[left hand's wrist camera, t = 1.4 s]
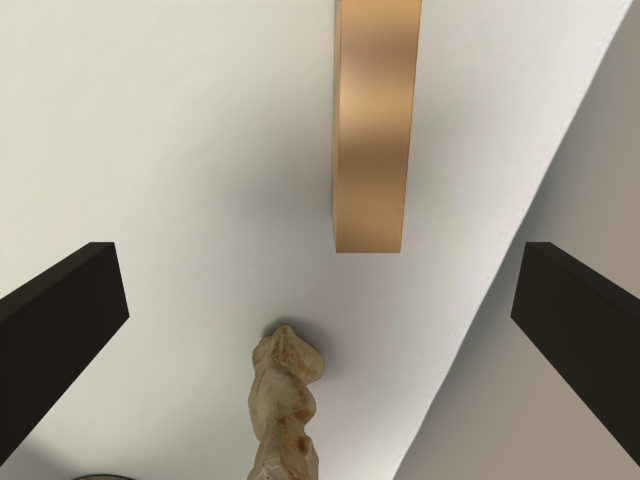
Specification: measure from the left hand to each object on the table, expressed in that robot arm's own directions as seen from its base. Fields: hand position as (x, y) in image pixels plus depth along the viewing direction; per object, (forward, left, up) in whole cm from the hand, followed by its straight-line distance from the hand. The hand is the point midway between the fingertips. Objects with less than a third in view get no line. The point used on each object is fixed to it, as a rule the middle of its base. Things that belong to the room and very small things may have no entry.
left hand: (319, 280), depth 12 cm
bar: (+7, -2, -22) cm, 23 cm away
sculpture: (-19, -2, -22) cm, 29 cm away
